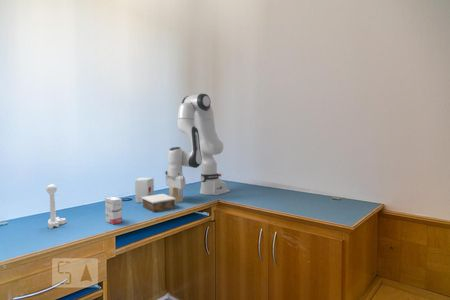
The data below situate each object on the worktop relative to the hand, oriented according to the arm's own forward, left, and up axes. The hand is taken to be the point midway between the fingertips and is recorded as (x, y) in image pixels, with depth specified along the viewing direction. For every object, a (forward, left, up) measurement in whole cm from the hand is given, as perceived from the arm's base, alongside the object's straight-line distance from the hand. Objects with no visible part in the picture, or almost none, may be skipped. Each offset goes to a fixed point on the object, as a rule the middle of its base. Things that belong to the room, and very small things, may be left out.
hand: (175, 194), depth 186 cm
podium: (+15, +6, -5) cm, 17 cm away
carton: (0, 0, -5) cm, 5 cm away
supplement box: (+15, -14, -5) cm, 21 cm away
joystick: (+67, +2, -5) cm, 67 cm away
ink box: (+44, +16, -5) cm, 47 cm away
